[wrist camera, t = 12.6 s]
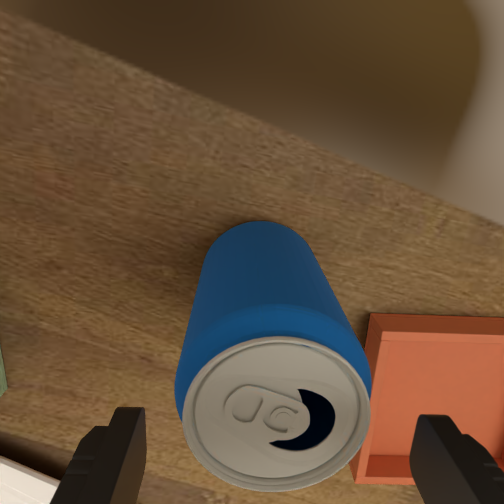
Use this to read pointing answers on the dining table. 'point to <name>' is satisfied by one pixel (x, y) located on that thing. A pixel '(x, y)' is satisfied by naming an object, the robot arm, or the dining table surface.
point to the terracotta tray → (430, 387)
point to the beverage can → (270, 365)
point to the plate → (24, 484)
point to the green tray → (2, 376)
